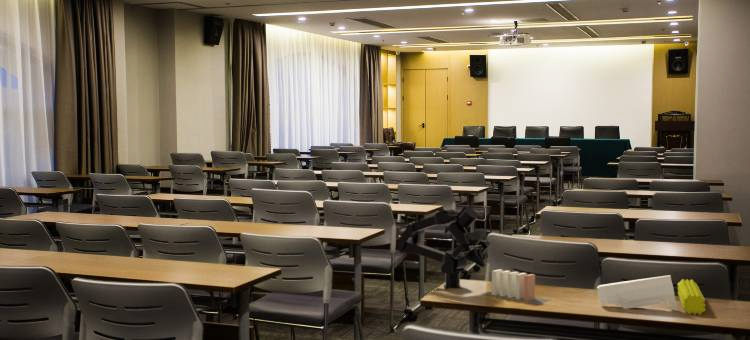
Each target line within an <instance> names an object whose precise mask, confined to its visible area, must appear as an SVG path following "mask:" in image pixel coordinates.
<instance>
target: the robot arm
mask: <svg viewBox="0 0 750 340" xmlns="http://www.w3.org/2000/svg"><path fill="white" fill-rule="evenodd" d="M478 217H479V215H478V213H477V212H476V211H475V209H473V208H471V207H469V206H468V205H465V206H463V207H462V209H461V210H460V211H459V212H456V210H455V209H453V208H450V209H449V208H448V209H441V210H438V211H437V212H436V213H434V215H432V216H429V217H427V218H425V219H424V218H423V219H421V220H418V221H415V222H410V223H409V224H407V226H406V228H405V230H403V232H402V234H401V235H400V236H399V239H398V241H397V242H396V243H397V244H396V247H397V251H398V252H399V253H401V254H413V255H414V254H415V255H418V256H420V257H424V258H427V259H429V260H433V261H435V262H439V263H441V264H442V265H441V266H440V270H441V274H445V281H444V282H445V284H443V287H444V289H446V290H447V289H461V288H462V286H461V279H460V277H461V272H464V270H465V268H466V266H467V264H468V261H470V262H472V263H474V264H476V265H478V266H479V267H481V268H485V266H486V264H485V260H484V257H483V253H485V252H486V250H487V249H488V248H489V247H491V243H490V242H489V241H488V240H482V239H485V238H486V236H487V232H486V230H485V229H484V228H480V229H477V230H476V231H472V232H471V231H469V232H468V230H467V229H468V228H470V227H471V226H472V225H473V223H474V222H475V221H476V220H477V219H478ZM441 225H448V226H445V229H444V234H446V235H447V234H451V236H452V237H453V238H454V240H455V241H454V244H455V245H457V246H456V247H455V248H454V249H451V250H446V251H442V250H439V249H437V248H434V247H430V246H428V245H424V244H421V243H420V241H419V239H420V231H424V230H426V229H429V228H432V227H436V226H441ZM466 228H467V229H466ZM479 240H480V241H479Z"/></svg>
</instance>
